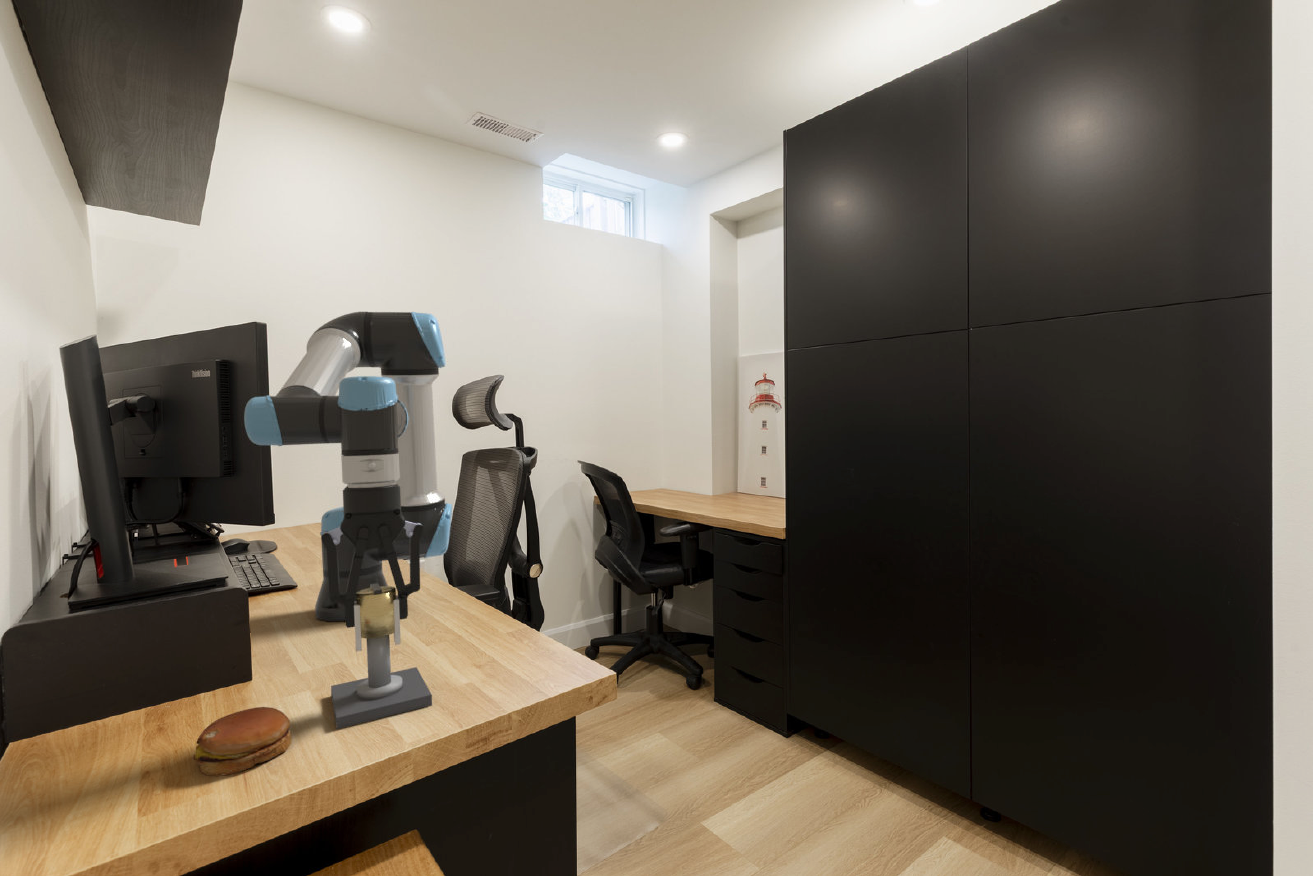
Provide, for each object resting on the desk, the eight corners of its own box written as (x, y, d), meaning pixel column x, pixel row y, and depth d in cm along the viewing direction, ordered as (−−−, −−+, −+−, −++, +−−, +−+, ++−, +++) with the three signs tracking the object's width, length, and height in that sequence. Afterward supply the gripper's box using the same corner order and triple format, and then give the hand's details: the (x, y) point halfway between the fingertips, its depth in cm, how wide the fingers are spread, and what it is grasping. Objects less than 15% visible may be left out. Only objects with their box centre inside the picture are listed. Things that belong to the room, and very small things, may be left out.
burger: (308, 738, 78) (306, 702, 78) (246, 781, 69) (244, 740, 69) (243, 733, 80) (241, 698, 80) (174, 774, 71) (172, 734, 71)
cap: (356, 631, 89) (354, 586, 89) (394, 623, 92) (392, 580, 92) (360, 641, 85) (358, 594, 84) (400, 633, 87) (398, 587, 87)
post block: (331, 696, 90) (328, 629, 90) (416, 676, 97) (414, 614, 96) (336, 729, 80) (333, 654, 80) (432, 705, 86) (429, 635, 86)
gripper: (299, 491, 80) (307, 666, 81) (438, 482, 88) (444, 641, 89) (304, 486, 87) (311, 648, 88) (432, 478, 95) (438, 627, 95)
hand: (378, 644), depth 88 cm, fingers closed on cap, 4 cm apart
